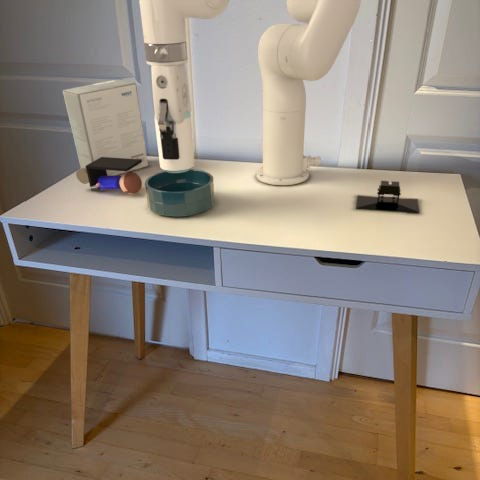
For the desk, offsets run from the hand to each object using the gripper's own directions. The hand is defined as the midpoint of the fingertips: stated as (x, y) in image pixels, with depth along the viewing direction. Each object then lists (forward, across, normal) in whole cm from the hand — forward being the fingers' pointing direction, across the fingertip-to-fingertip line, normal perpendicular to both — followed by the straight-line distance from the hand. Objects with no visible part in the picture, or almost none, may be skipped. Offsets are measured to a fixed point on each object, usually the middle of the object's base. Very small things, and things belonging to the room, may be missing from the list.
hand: (176, 152), depth 99 cm
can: (+3, 0, 0) cm, 3 cm away
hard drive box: (+11, +21, +22) cm, 33 cm away
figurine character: (+11, +7, +18) cm, 22 cm away
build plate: (+11, +3, -43) cm, 45 cm away
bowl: (+11, 0, 0) cm, 11 cm away
